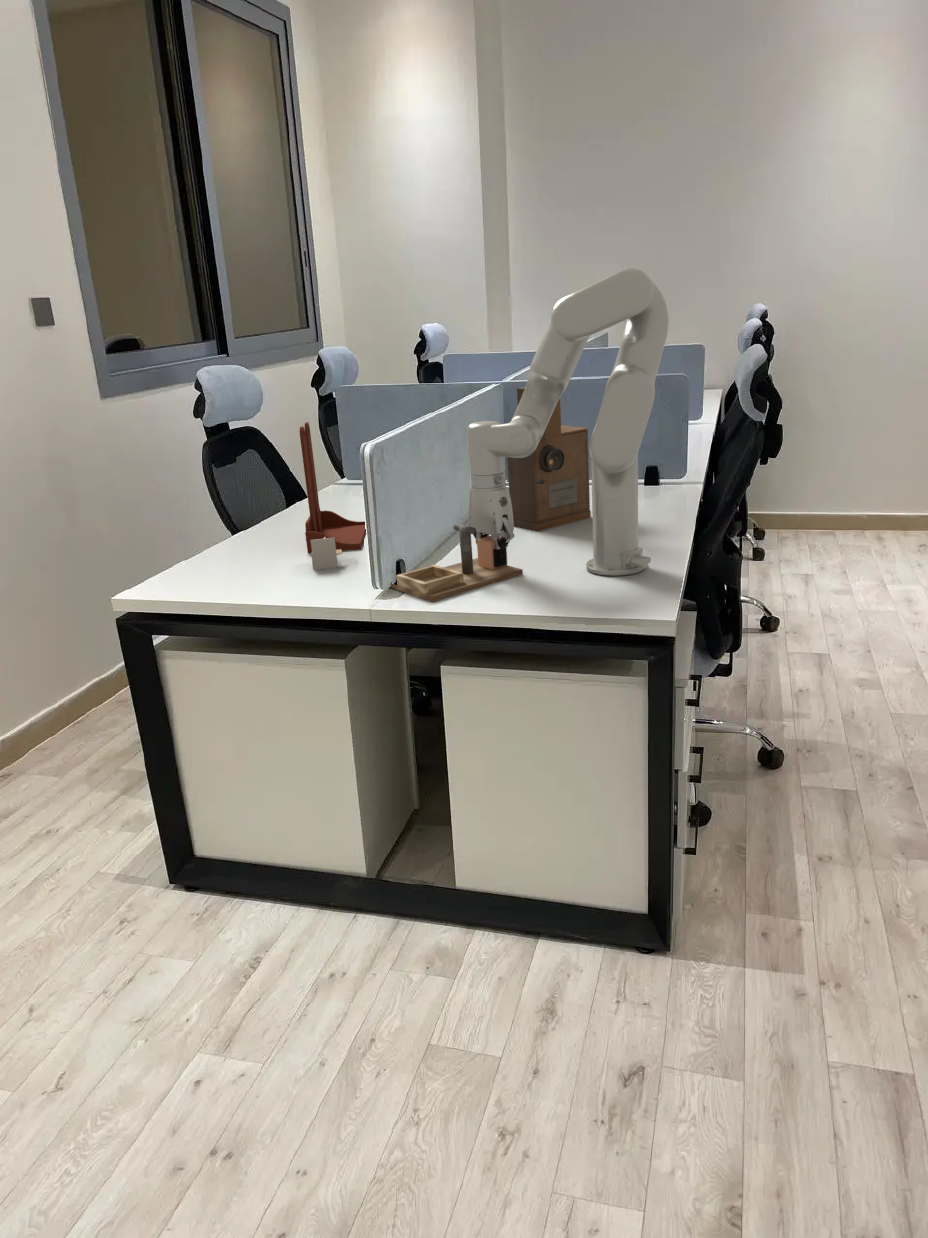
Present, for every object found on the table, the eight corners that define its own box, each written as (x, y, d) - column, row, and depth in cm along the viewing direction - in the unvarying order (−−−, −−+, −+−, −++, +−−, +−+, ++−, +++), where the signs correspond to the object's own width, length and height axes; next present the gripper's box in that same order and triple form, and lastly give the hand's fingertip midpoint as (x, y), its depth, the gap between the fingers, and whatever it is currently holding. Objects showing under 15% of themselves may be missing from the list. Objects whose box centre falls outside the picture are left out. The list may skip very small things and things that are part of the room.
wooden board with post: (522, 574, 199) (520, 522, 195) (432, 602, 186) (427, 546, 182) (479, 562, 211) (475, 512, 207) (390, 587, 197) (385, 534, 193)
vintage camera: (546, 534, 231) (540, 389, 220) (510, 525, 242) (502, 387, 230) (601, 519, 242) (598, 381, 230) (564, 512, 252) (559, 379, 241)
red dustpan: (360, 550, 230) (347, 427, 220) (307, 553, 230) (292, 431, 220) (369, 527, 252) (357, 414, 243) (320, 530, 253) (307, 418, 243)
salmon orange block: (507, 564, 203) (505, 538, 201) (491, 569, 200) (489, 542, 198) (494, 561, 206) (492, 534, 204) (478, 565, 204) (476, 539, 202)
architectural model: (313, 567, 218) (309, 536, 216) (343, 564, 219) (339, 533, 217) (313, 571, 215) (309, 540, 213) (343, 568, 216) (339, 537, 213)
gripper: (527, 482, 193) (531, 566, 199) (476, 473, 206) (481, 553, 212) (499, 488, 189) (504, 574, 195) (449, 479, 202) (455, 560, 208)
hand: (492, 562), depth 203 cm, fingers closed on salmon orange block, 4 cm apart
